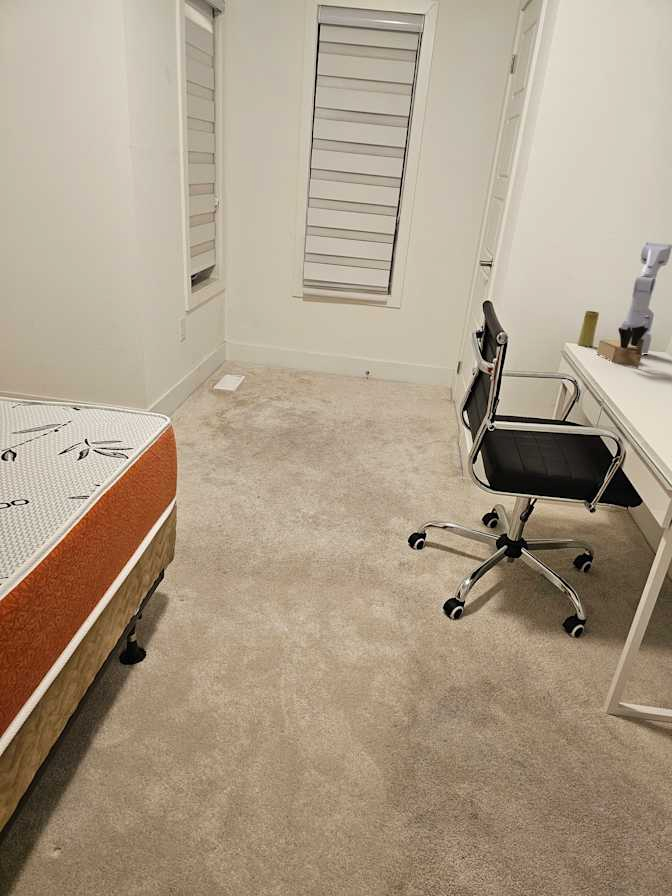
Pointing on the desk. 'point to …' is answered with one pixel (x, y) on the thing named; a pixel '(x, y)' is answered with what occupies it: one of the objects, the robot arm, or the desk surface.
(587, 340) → the vase
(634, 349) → the carton
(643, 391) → the desk surface
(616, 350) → the wooden paddle
